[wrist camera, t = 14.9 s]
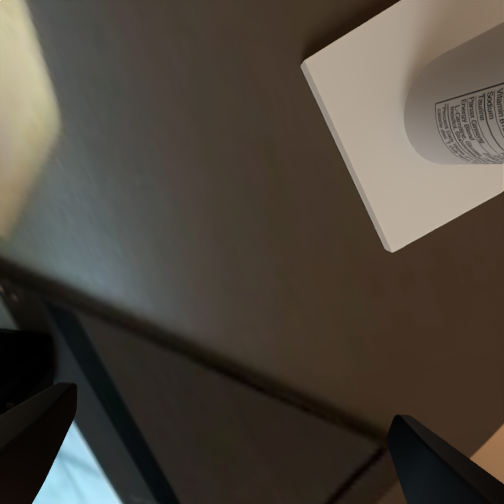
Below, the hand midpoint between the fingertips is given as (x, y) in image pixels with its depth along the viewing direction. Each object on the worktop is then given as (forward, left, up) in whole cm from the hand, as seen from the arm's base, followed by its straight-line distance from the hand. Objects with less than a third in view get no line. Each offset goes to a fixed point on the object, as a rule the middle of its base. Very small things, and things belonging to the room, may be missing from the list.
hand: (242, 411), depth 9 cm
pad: (+11, +12, -13) cm, 21 cm away
